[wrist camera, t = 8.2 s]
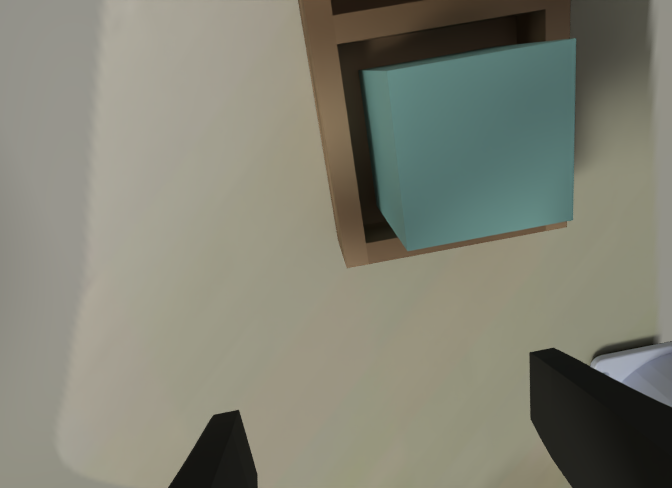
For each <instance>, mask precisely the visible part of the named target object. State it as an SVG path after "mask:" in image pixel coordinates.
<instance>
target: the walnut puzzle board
mask: <svg viewBox="0 0 672 488" xmlns="http://www.w3.org/2000/svg"><path fill="white" fill-rule="evenodd" d="M570 1H571V0H298V3H299V9H300V15H301V21H302V26H303V32H304V38H305V44H306V50H307V56H308V62H309V68H310V74H311V80H312V86H313V92H314V98H315V104H316V110H317V116H318V122H319V128H320V134H321V140H322V146H323V152H324V158H325V164H326V170H327V176H328V182H329V188H330V194H331V200H332V206H333V212H334V218H335V224H336V230H337V236H338V241H339V244H340V248H341V251H342V254H343V257H344V260H345V263H346V267H347V268H350V267H356V266H361V265H366V264H372V263H377V262H382V261H388V260H393V259H399V258H404V257H409V256H415V255H420V254H425V253H431V252H436V251H441V250H447V249H452V248H457V247H463V246H468V245H473V244H479V243H484V242H489V241H495V240H500V239H505V238H511V237H516V236H521V235H527V234H532V233H537V232H543V231H548V230H553V229H559V228H564V227H567V221H565V222H560V223H555V224H549V225H544V226H539V227H534V228H528V229H523V230H518V231H512V232H507V233H502V234H497V235H491V236H486V237H481V238H475V239H470V240H465V241H460V242H454V243H449V244H444V245H438V246H433V247H428V248H423V249H417V250H412V251H407V250H406V248H405V247H404V245H403V244H402V242H401V241H400V239H399V238H398V237H397V235H396V234H395V232H394V231H393V229H392V228H391V226H390V225H389V223H388V222H387V220H386V219H385V217H384V216H383V214H382V213H381V211H380V210H379V208H378V207H377V205H376V198H375V191H374V183H373V176H372V168H371V161H370V154H369V146H368V139H367V131H366V124H365V117H364V109H363V102H362V94H361V87H360V80H359V72H358V70H363V69H368V68H374V67H380V66H386V65H392V64H397V63H403V62H409V61H415V60H420V59H426V58H432V57H438V56H444V55H449V54H455V53H461V52H467V51H472V50H478V49H484V48H490V47H495V46H505V45H515V44H524V43H534V42H544V41H554V40H563V39H570Z"/></svg>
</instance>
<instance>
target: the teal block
mask: <svg viewBox="0 0 672 488" xmlns="http://www.w3.org/2000/svg"><path fill="white" fill-rule="evenodd" d="M358 72H359V80H360V87H361V94H362V102H363V109H364V117H365V124H366V131H367V139H368V146H369V154H370V161H371V168H372V176H373V183H374V191H375V198H376V205H377V207H378V208H379V210H380V211H381V213H382V214H383V216H384V217H385V219H386V220H387V222H388V223H389V225H390V226H391V228H392V229H393V231H394V232H395V234H396V235H397V237H398V238H399V239H400V241H401V242H402V244H403V245H404V247H405V248H406V250H407V251H412V250H417V249H423V248H428V247H433V246H438V245H444V244H449V243H454V242H460V241H465V240H470V239H475V238H481V237H486V236H491V235H497V234H502V233H507V232H512V231H518V230H523V229H528V228H534V227H539V226H544V225H549V224H555V223H560V222H565V221H571V220H573V187H574V131H575V74H576V38H573V39H563V40H554V41H544V42H534V43H524V44H515V45H505V46H495V47H490V48H484V49H478V50H472V51H467V52H461V53H455V54H449V55H444V56H438V57H432V58H426V59H420V60H415V61H409V62H403V63H397V64H392V65H386V66H380V67H374V68H368V69H363V70H358Z"/></svg>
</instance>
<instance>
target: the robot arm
mask: <svg viewBox="0 0 672 488" xmlns="http://www.w3.org/2000/svg"><path fill="white" fill-rule="evenodd" d="M530 415H531V421H532V423H533V425H534V426H535V428H536V430H537V432H538V434H539V436H540V438H541V440H542V442H543V443H544V445H545V447H546V449H547V451H548V452H549V454H550V456H551V458H552V459H553V461H554V462H555V463H556V465H557V466H558V468H559V469H560V471H561V472H562V474H563V475H564V476H565V478H566V479H567V481H568V482H569V483H570V485H571V486H572V488H672V341H670V342H666V343H660V344H655V345H650V346H645V347H640V348H635V349H630V350H625V351H620V352H615V353H610V354H605V355H600V356H598V357H596V358H595V359H593V361H592V362H591V366H588V365H587V364H585V363H583V362H581V361H579V360H577V359H575V358H573V357H571V356H569V355H567V354H565V353H563V352H561V351H559V350H557V349H555V348H550V349H545V350H540V351H535V352H530ZM168 488H258V486H257V472H256V468H255V465H254V461H253V457H252V454H251V450H250V447H249V443H248V440H247V436H246V433H245V429H244V426H243V422H242V419H241V415H240V412H239V410H236V411H231V412H226V413H221V414H216V415H213V417H212V418H211V419H210V421H209V423H208V424H207V426H206V428H205V429H204V431H203V433H202V434H201V436H200V438H199V439H198V441H197V443H196V444H195V446H194V448H193V449H192V451H191V453H190V454H189V456H188V458H187V459H186V461H185V462H184V464H183V466H182V467H181V469H180V470H179V472H178V473H177V475H176V476H175V478H174V479H173V481H172V483H171V484H170V486H169V487H168Z"/></svg>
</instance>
